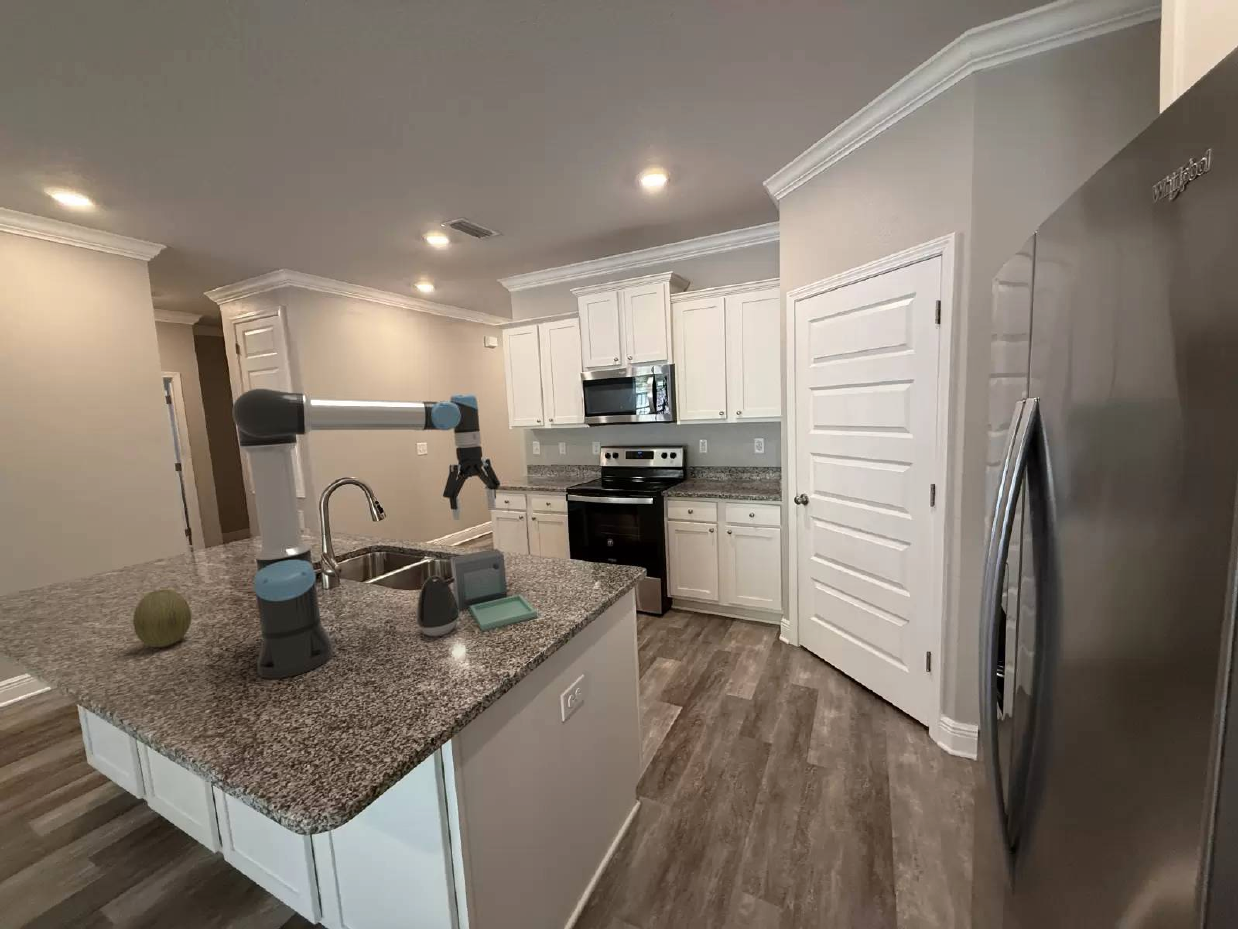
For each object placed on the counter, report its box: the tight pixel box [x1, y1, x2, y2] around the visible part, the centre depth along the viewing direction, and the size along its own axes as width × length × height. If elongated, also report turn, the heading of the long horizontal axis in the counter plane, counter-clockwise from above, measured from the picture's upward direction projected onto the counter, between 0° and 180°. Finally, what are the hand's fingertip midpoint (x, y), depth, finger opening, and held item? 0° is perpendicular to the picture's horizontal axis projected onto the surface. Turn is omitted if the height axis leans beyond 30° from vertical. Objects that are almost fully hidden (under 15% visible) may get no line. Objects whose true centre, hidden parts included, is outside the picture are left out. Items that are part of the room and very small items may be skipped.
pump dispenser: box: [416, 575, 459, 637], centre depth 129 cm, size 10×10×15 cm
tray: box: [469, 593, 538, 633], centre depth 139 cm, size 15×15×2 cm
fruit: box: [133, 589, 192, 648], centre depth 131 cm, size 11×11×15 cm
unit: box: [449, 548, 508, 612], centre depth 149 cm, size 14×9×14 cm, turn 118°
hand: (475, 514), depth 153 cm, fingers open, 13 cm apart
